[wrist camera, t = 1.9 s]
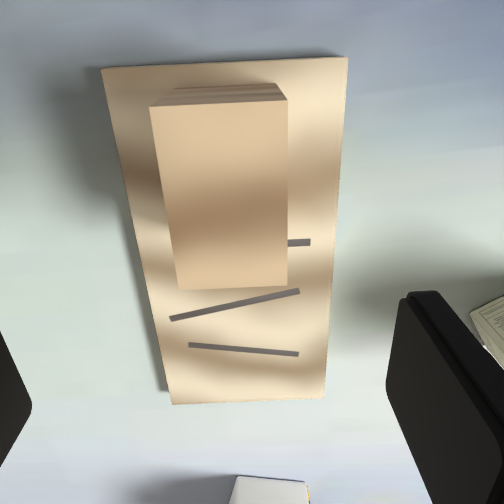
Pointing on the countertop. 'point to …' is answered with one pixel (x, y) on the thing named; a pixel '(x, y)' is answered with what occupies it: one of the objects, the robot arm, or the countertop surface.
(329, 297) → the board
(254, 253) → the block
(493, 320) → the skincare box
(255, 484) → the medicine bottle
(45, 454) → the countertop surface
